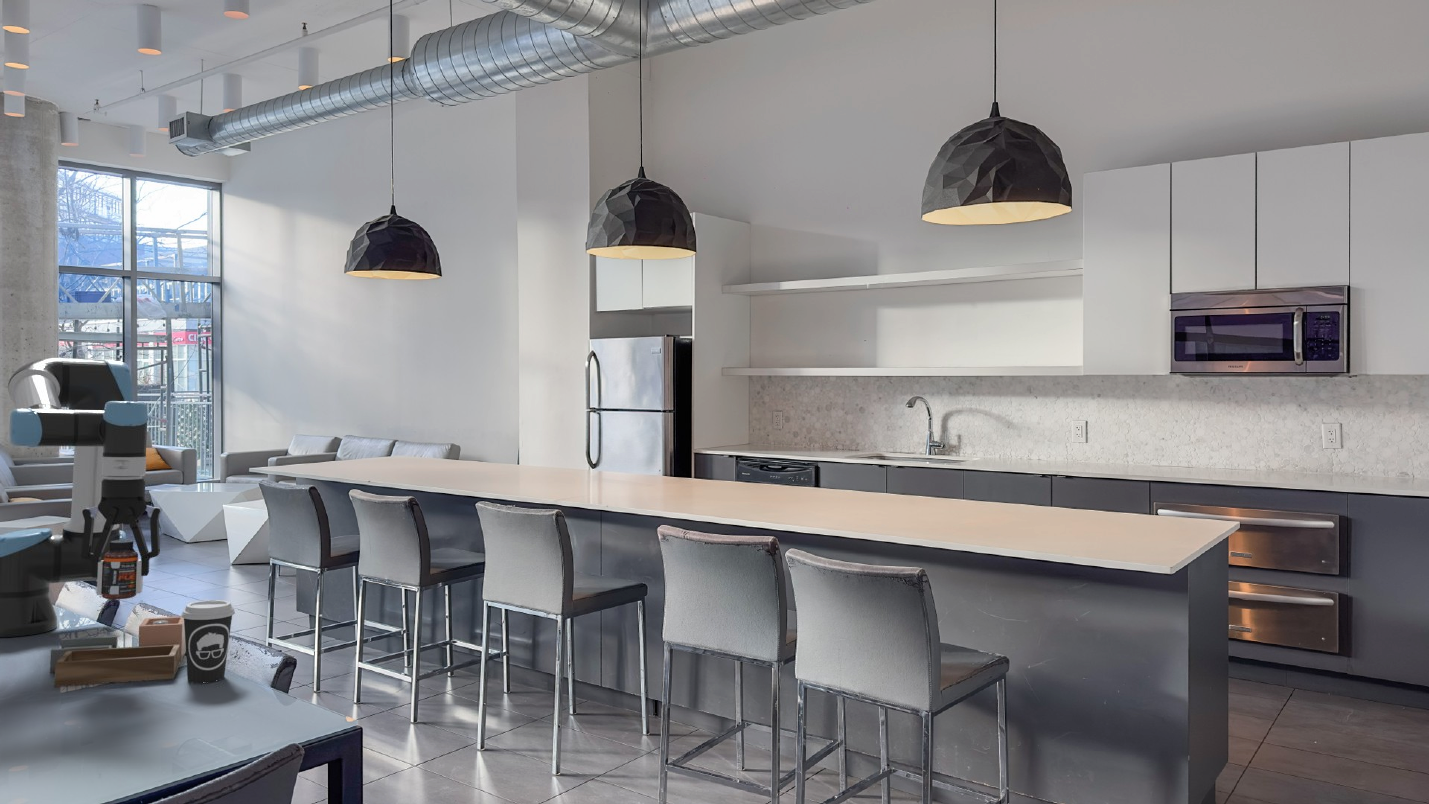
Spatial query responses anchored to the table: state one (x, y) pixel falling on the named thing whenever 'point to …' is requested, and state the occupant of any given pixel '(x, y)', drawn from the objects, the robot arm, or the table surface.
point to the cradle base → (80, 642)
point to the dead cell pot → (163, 632)
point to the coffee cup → (207, 639)
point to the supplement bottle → (120, 570)
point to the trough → (117, 665)
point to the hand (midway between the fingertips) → (119, 592)
